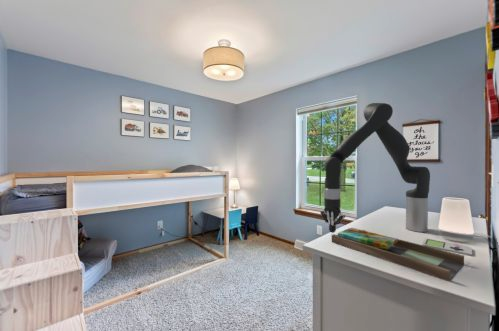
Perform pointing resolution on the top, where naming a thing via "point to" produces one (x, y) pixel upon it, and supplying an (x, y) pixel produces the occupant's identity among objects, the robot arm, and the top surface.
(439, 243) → the handheld gaming console
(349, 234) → the puzzle game
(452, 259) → the channel
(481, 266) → the top surface
